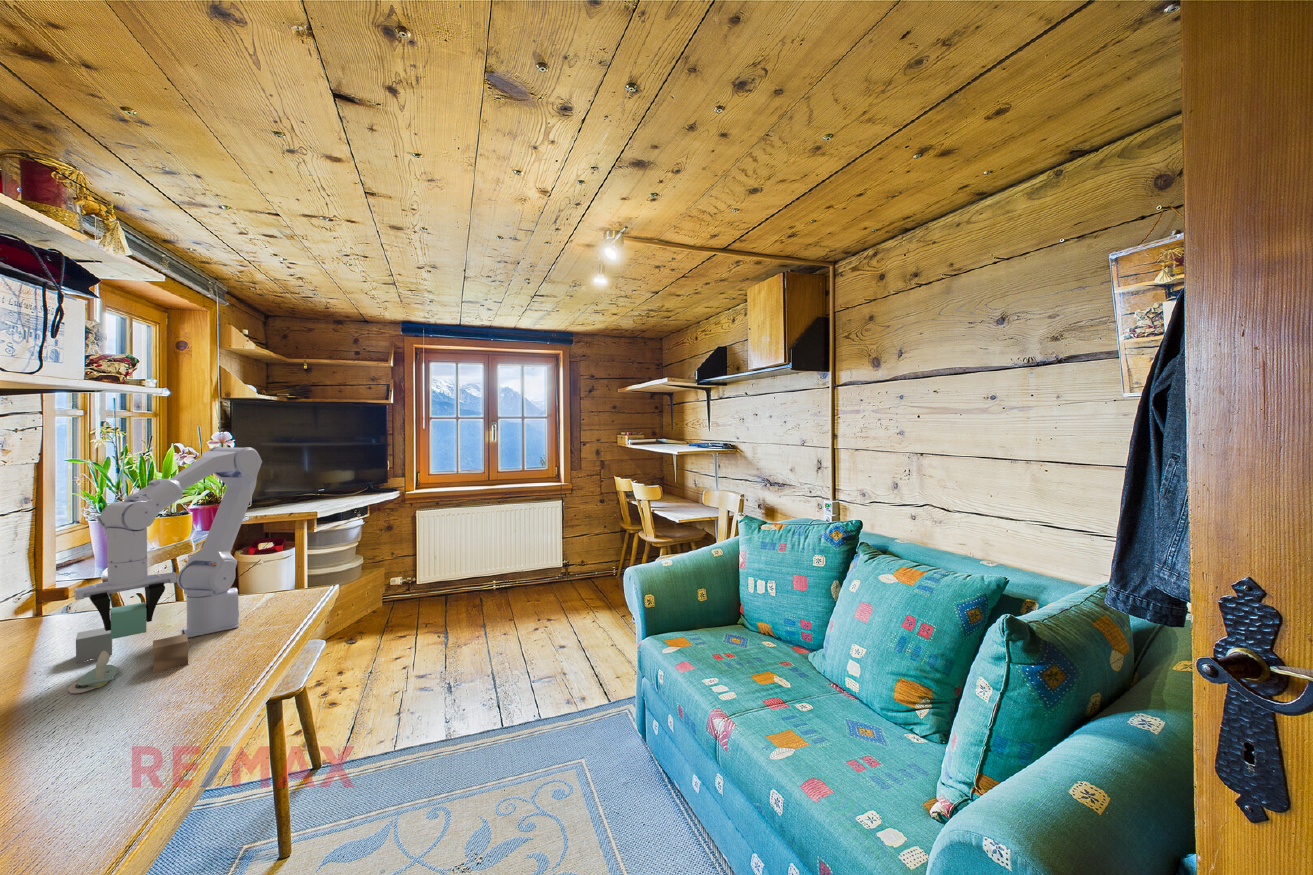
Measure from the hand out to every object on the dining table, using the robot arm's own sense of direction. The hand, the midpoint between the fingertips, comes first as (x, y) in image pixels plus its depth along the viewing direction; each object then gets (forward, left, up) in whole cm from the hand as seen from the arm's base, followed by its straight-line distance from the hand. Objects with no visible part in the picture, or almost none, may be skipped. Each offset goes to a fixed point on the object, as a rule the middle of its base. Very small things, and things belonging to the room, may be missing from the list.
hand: (128, 624), depth 105 cm
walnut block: (-6, +8, -8) cm, 13 cm away
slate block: (+5, -8, -8) cm, 12 cm away
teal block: (0, 0, -2) cm, 2 cm away
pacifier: (+5, +9, -8) cm, 13 cm away
